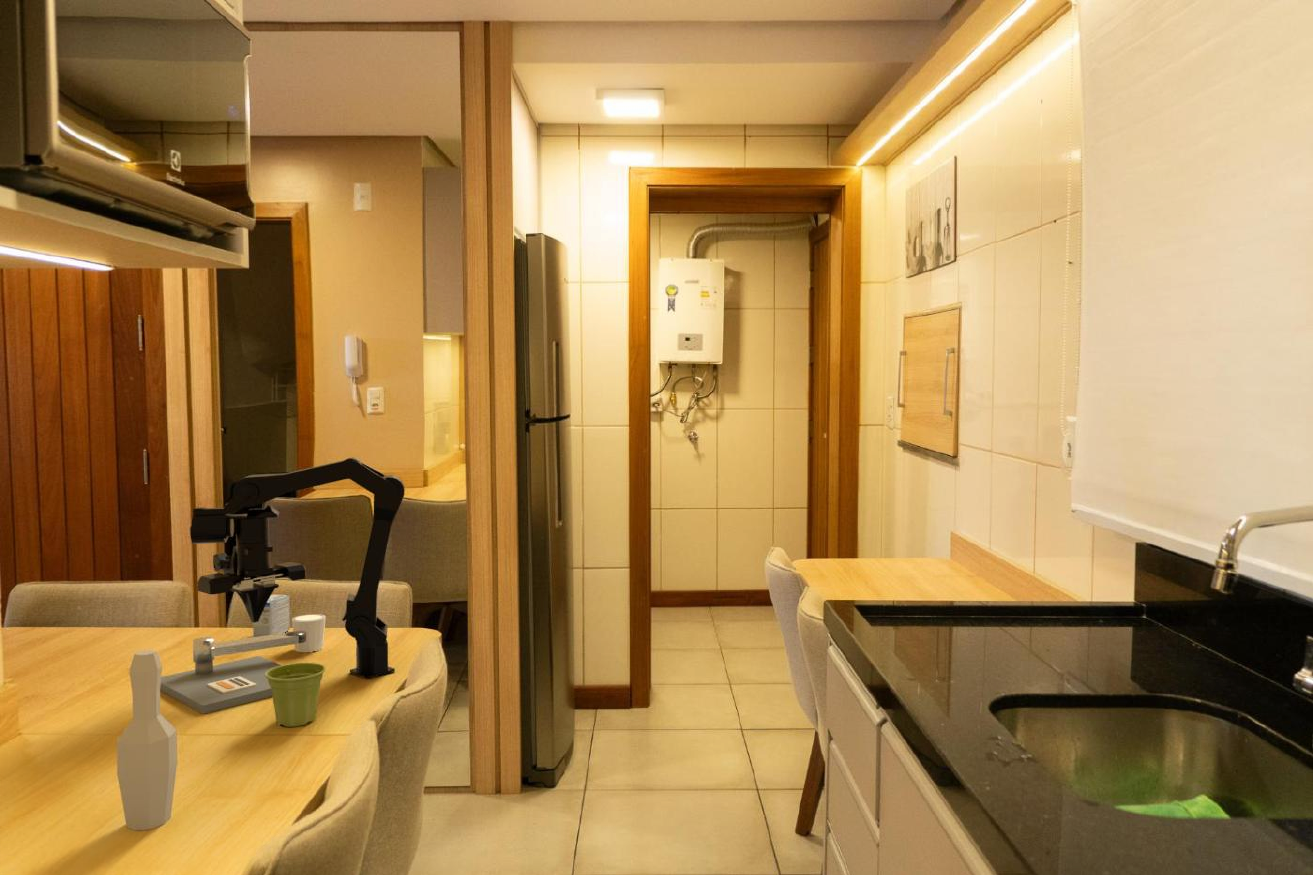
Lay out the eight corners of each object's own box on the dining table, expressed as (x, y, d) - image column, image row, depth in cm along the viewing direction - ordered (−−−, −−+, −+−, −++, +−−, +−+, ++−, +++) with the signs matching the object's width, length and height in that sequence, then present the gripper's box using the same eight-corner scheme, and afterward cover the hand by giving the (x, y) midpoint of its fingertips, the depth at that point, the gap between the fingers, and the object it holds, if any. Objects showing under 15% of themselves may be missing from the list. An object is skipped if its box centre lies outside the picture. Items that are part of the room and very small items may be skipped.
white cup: (318, 653, 188) (318, 621, 188) (286, 653, 188) (286, 621, 188) (330, 644, 195) (330, 613, 194) (300, 644, 195) (299, 613, 195)
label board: (312, 685, 167) (312, 667, 167) (203, 714, 152) (202, 694, 151) (258, 663, 181) (258, 646, 181) (153, 686, 166) (153, 668, 166)
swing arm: (195, 664, 167) (195, 643, 167) (191, 659, 170) (191, 638, 170) (308, 646, 180) (308, 626, 179) (303, 642, 183) (303, 622, 183)
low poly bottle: (107, 831, 110) (104, 658, 109) (146, 808, 117) (143, 644, 116) (151, 836, 109) (147, 661, 108) (188, 813, 115) (185, 647, 114)
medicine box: (272, 630, 207) (272, 594, 206) (290, 631, 206) (290, 594, 206) (252, 639, 199) (252, 601, 198) (271, 640, 198) (270, 602, 198)
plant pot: (266, 715, 151) (266, 665, 151) (325, 708, 155) (324, 659, 154) (264, 734, 143) (263, 681, 142) (326, 726, 146) (326, 675, 146)
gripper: (278, 531, 180) (279, 606, 181) (183, 543, 166) (185, 625, 167) (307, 536, 173) (308, 615, 174) (210, 549, 159) (212, 635, 160)
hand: (254, 622), depth 169 cm, fingers closed
